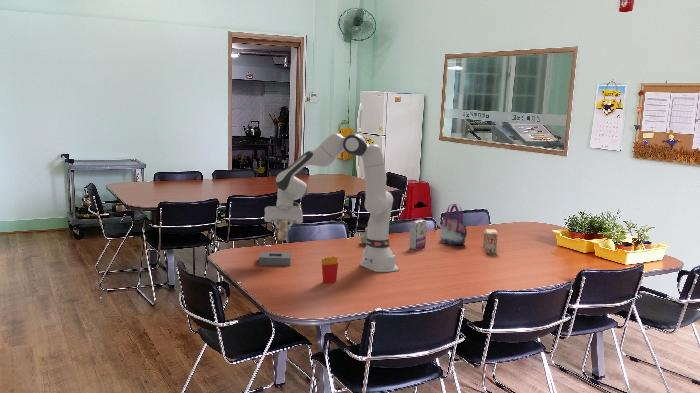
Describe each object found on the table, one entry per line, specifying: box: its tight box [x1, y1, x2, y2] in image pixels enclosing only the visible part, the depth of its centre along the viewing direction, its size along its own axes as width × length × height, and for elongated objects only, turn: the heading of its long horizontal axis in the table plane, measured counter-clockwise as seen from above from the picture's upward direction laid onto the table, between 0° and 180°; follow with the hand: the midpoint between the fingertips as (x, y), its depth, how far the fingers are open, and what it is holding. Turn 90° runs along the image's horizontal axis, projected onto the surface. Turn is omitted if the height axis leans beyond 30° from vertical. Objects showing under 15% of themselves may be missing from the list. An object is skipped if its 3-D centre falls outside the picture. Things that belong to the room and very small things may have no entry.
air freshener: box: [360, 226, 368, 246], centre depth 359 cm, size 11×8×10 cm
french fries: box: [321, 256, 339, 284], centre depth 277 cm, size 8×4×12 cm, turn 124°
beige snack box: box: [482, 228, 499, 254], centre depth 357 cm, size 21×6×12 cm, turn 171°
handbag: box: [439, 203, 468, 246], centre depth 369 cm, size 21×10×25 cm, turn 37°
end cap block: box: [258, 251, 292, 267], centre depth 309 cm, size 16×12×4 cm
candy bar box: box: [409, 219, 427, 250], centre depth 354 cm, size 11×5×16 cm, turn 143°
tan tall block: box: [277, 220, 289, 241], centre depth 307 cm, size 4×4×10 cm
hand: (282, 228), depth 307 cm, fingers closed on tan tall block, 4 cm apart
